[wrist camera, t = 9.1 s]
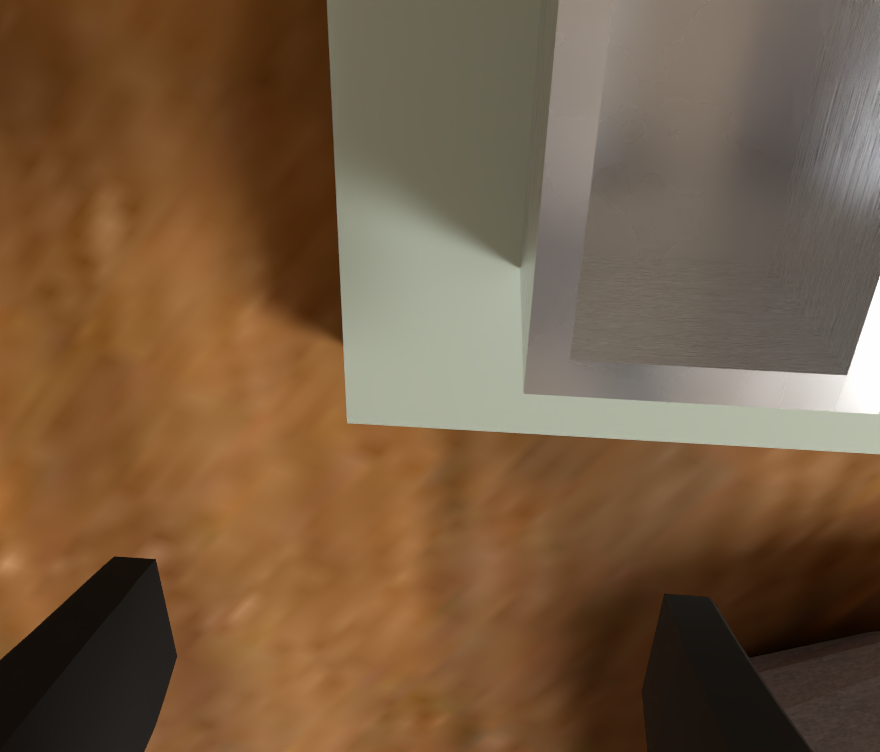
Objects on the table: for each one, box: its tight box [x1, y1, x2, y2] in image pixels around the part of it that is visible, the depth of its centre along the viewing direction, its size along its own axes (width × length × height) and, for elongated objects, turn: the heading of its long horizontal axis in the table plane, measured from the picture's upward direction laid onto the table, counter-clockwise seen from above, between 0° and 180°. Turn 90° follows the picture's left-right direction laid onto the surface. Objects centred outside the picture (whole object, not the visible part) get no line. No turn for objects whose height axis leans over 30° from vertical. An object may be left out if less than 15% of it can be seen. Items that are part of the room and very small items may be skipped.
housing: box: [520, 0, 880, 414], centre depth 11 cm, size 5×9×4 cm, turn 179°
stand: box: [327, 0, 880, 454], centre depth 14 cm, size 12×16×3 cm
